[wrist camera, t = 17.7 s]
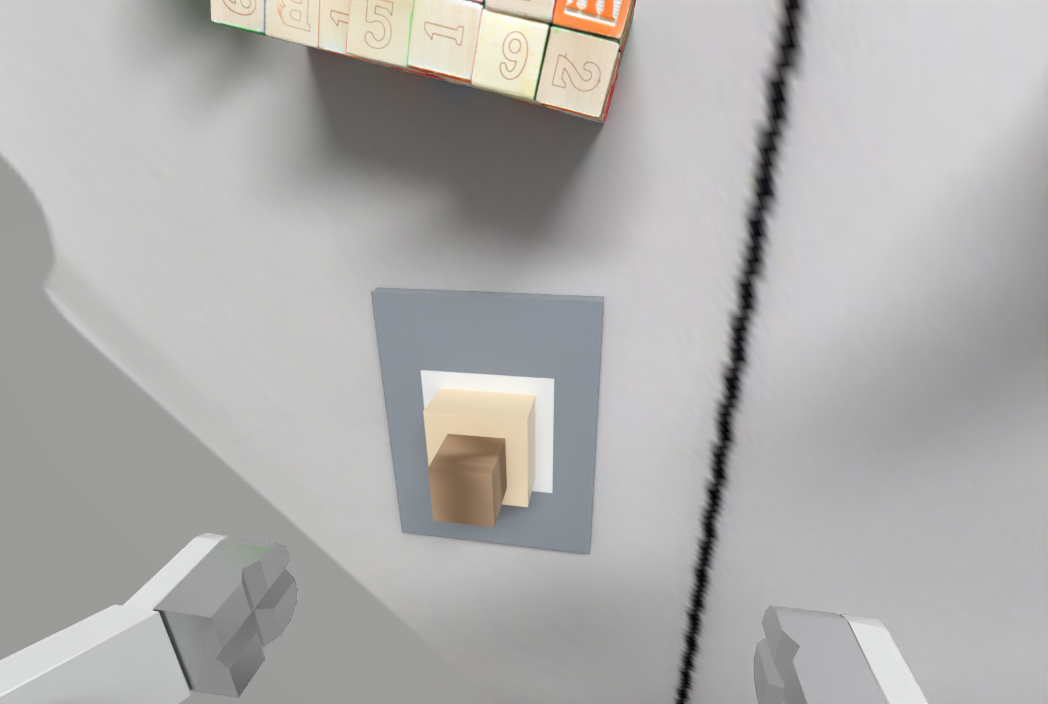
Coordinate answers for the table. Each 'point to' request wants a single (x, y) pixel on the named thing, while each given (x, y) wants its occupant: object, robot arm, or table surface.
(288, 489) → the table surface
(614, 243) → the table surface
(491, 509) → the walnut cube
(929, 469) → the table surface
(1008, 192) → the table surface
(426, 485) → the board
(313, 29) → the stack of blocks
